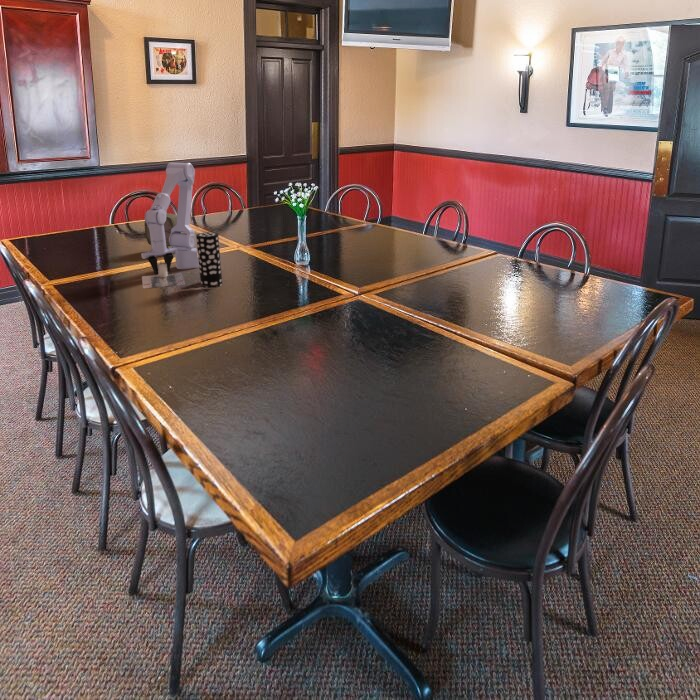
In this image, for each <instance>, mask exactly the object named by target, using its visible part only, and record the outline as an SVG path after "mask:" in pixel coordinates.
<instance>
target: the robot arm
mask: <svg viewBox="0 0 700 700" xmlns="http://www.w3.org/2000/svg"><path fill="white" fill-rule="evenodd" d="M165 173H166V177H165V181H164V184H163V187H162V189H161V192H160V193H157V194H156V195H155V198H154V200H153V202H152V205H151V207H150V209H148V210H147V211H146V212H145V214H144V222H145V221H146V223H147V226H148V228H149V231H150V239H151V245H150V246H151V250H152V251H151V250H149V251H145V252H142V253H140V254H141V258H142V259H143V260H144V259H146V260H147V261H148V263H149V264H150V265H151V268H152V270H153V275H158V268H157V263H158V258H157V257H159V256H163V260H164V263H167V271H168V273H170V272H171V271H170V270H171V264H172V262H173V259H174V257H175V266H176V269H178V270H189V269H198V268H199V259H198V249H197V247H195V245H196V243H197V239H196V234H195V233H196V232H195V230H194V228H192V227H191V226H190V225H191V224H190V223H191V212H192V211H191V210H192V201H193V187H194V184H195V175H196V170H195V168H194V166H193V163H191V162H168V164H167V166H166V168H165ZM177 185H178V187H179V189H178V200H177V201H178V202H177V212H176V213H177V214H176V215H177V225H176V226H174V227H173V228H172V229H171V234H170V237H169V243H170V245H171V246H170V247H168V248H167V247H166V240H165V231H164V223H165V221H166V214H167V213H168V211H167V210H168V208H169V206H170V204H171V200H172V199H171V194H172V193H173V191H174V190H175V188H176V186H177ZM166 211H167V212H166ZM180 232H181V233H180ZM172 247H173V248H172Z"/></svg>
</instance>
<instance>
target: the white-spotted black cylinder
mask: <svg viewBox="0 0 700 700" xmlns="http://www.w3.org/2000/svg"><path fill="white" fill-rule="evenodd" d="M195 240H196V248H197V254H198V261H199V269H198V270H199V279H200V285H203V286H202V288H206V289H212V288H213V289H214V288H218V287H221V286H223V274H222V265H221V264H222V263H221V262H222V261H221V251H220V241H219V240H220V239H219V233H218V232H213V231H211V232H209V231H208V232H207V231H206V232H200V233H196V234H195Z"/></svg>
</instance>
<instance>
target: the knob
mask: <svg viewBox="0 0 700 700" xmlns="http://www.w3.org/2000/svg"><path fill="white" fill-rule="evenodd" d="M157 268H158V275H157V277H167V276H168V274H169V272H168V271H167V263H165V262H162V261H160V262H157Z"/></svg>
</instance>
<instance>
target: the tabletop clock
mask: <svg viewBox="0 0 700 700" xmlns="http://www.w3.org/2000/svg"><path fill="white" fill-rule="evenodd" d="M166 212H167V214H166V221H165V223H164V231H165V240H166V248H169V247H171V248H173V247H172V246H171V245H170V243H169V237H170V234H171V229H172V228H173V227H174V226H176V225H177V214H175V213H170V212H169V213H168V211H166ZM144 233H145V234H144V235H145V239H146V242H147V243H148V245H150V246H151V239H150V231H149V228H148V226H147V223H146V221H145V220H144ZM180 233H182V232H180ZM150 251H152V249H151V250H150Z"/></svg>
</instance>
